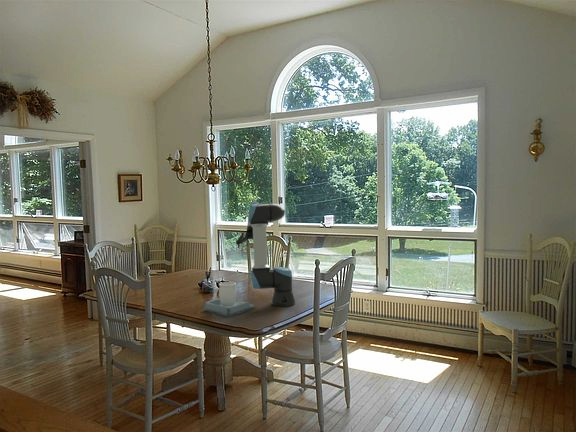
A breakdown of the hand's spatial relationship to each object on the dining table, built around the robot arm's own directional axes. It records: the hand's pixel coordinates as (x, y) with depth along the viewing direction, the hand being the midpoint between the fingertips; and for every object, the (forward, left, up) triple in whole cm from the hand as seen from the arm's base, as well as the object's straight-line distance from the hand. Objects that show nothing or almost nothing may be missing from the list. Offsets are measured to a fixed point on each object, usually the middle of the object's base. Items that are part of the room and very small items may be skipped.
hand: (248, 251), depth 308 cm
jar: (-18, +37, -28) cm, 50 cm away
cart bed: (-19, +36, -30) cm, 50 cm away
